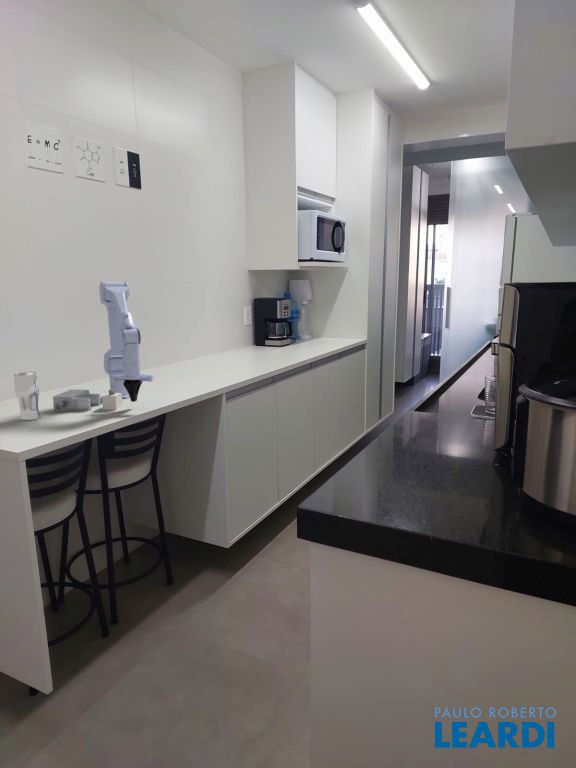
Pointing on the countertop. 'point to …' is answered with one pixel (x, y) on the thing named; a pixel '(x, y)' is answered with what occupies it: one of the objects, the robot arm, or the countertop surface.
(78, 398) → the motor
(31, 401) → the beer glass
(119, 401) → the white block
